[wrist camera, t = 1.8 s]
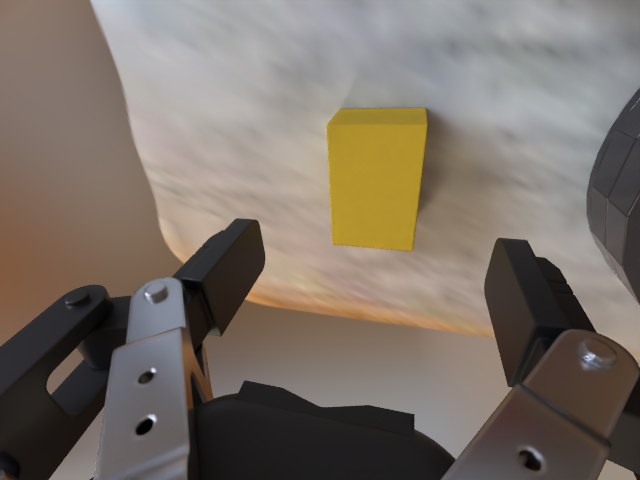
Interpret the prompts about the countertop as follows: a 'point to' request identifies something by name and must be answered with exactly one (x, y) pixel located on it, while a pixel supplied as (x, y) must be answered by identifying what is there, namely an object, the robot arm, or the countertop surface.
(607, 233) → the pan
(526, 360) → the robot arm
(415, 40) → the countertop surface
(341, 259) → the countertop surface
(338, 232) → the sponge
